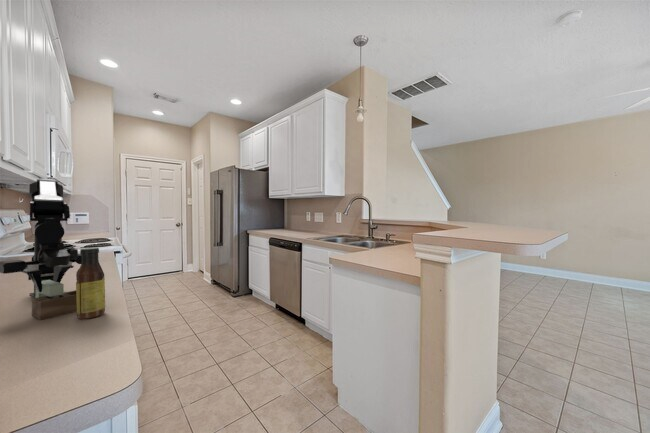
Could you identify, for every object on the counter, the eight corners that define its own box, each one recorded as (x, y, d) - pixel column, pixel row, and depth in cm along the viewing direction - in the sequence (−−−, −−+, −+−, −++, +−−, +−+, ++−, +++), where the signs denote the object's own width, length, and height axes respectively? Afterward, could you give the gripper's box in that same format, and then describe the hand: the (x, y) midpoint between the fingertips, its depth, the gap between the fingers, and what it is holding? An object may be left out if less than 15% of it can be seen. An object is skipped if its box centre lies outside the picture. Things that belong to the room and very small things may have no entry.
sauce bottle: (110, 312, 79) (111, 247, 79) (90, 320, 73) (91, 250, 72) (91, 311, 79) (92, 246, 79) (69, 319, 73) (70, 249, 73)
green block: (35, 307, 80) (35, 281, 79) (48, 304, 82) (49, 279, 82) (49, 313, 75) (49, 286, 75) (63, 310, 78) (63, 283, 78)
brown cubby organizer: (31, 316, 75) (32, 298, 75) (84, 303, 86) (84, 288, 86) (40, 320, 72) (40, 302, 72) (93, 306, 83) (94, 291, 83)
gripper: (11, 244, 67) (10, 304, 67) (99, 238, 84) (98, 286, 84) (-4, 241, 72) (-4, 297, 72) (82, 236, 89) (82, 282, 89)
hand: (47, 290), depth 79 cm, fingers closed on green block, 3 cm apart
